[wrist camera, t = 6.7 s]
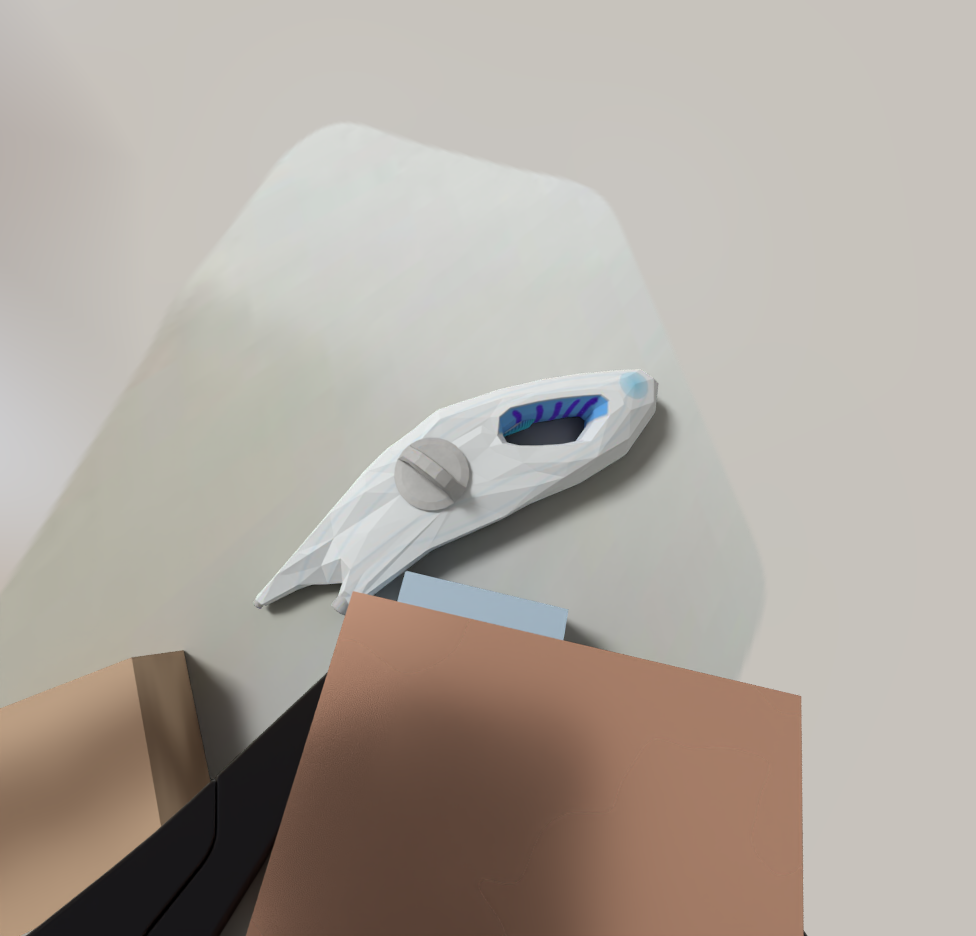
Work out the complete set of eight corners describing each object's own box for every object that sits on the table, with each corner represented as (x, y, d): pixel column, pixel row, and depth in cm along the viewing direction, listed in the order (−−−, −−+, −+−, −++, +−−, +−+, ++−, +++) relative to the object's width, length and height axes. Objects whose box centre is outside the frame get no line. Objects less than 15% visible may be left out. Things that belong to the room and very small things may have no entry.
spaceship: (605, 344, 27) (634, 296, 23) (668, 433, 26) (712, 399, 22) (229, 530, 22) (178, 511, 18) (282, 652, 21) (240, 664, 17)
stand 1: (218, 819, 18) (167, 865, 15) (27, 909, 17) (-75, 980, 14) (183, 650, 20) (131, 657, 17) (8, 719, 19) (-86, 741, 16)
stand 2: (522, 771, 20) (537, 803, 17) (368, 735, 20) (352, 760, 16) (550, 610, 22) (568, 609, 19) (412, 577, 22) (405, 570, 19)
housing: (540, 827, 11) (808, 1443, 3) (368, 788, 11) (133, 1298, 3) (567, 643, 13) (801, 696, 4) (415, 607, 13) (352, 590, 4)
